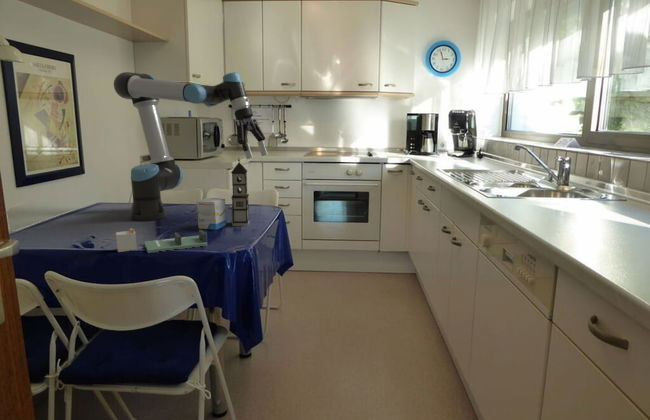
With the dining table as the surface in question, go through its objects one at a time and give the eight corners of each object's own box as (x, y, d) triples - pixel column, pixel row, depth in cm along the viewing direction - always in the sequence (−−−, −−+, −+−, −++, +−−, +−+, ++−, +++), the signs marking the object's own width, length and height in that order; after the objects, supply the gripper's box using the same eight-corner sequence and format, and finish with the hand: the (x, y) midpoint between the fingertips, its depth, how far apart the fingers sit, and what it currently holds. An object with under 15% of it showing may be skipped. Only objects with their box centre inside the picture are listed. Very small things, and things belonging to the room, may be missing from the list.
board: (144, 244, 165) (143, 233, 164) (200, 237, 174) (200, 227, 173) (147, 253, 154) (147, 241, 153) (207, 245, 163) (207, 235, 162)
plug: (117, 249, 159) (115, 229, 158) (135, 246, 162) (134, 227, 160) (117, 252, 156) (116, 232, 154) (136, 249, 158) (135, 230, 157)
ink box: (227, 225, 193) (225, 198, 190) (216, 230, 185) (214, 201, 182) (209, 223, 195) (208, 196, 193) (197, 228, 188) (196, 200, 185)
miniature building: (248, 225, 192) (246, 154, 186) (231, 226, 192) (228, 154, 185) (249, 221, 199) (247, 152, 193) (233, 222, 199) (230, 152, 192)
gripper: (234, 106, 183) (250, 157, 185) (263, 106, 206) (277, 151, 208) (219, 112, 186) (235, 162, 188) (249, 112, 209) (263, 156, 211)
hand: (257, 157), depth 198 cm, fingers open, 13 cm apart
